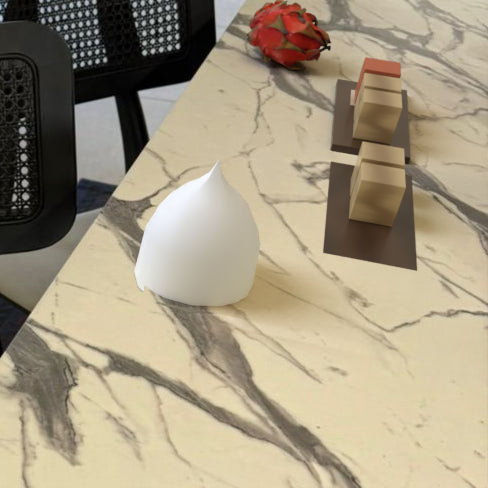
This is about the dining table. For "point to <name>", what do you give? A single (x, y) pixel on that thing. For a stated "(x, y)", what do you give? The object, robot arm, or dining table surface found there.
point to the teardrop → (200, 245)
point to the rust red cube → (378, 70)
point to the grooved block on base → (372, 209)
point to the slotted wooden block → (370, 115)
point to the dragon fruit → (287, 34)
